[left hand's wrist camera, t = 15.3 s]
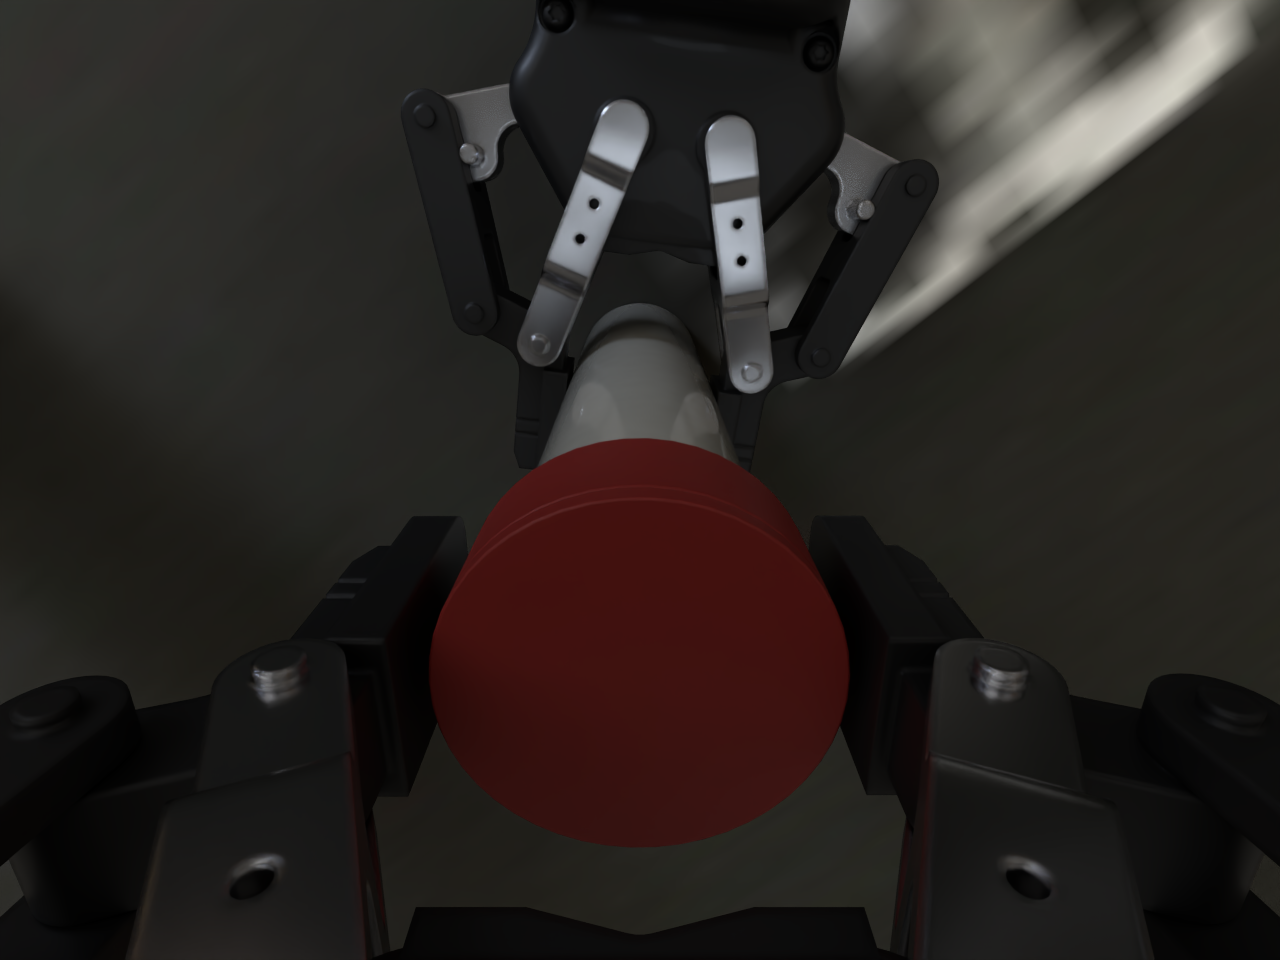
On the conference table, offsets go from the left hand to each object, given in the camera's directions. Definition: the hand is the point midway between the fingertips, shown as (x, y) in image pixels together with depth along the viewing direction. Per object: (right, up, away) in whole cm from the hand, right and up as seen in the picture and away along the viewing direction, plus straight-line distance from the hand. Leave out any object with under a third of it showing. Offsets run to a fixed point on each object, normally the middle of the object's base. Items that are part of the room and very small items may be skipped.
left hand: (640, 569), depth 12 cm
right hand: (0, +1, +11) cm, 11 cm away
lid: (0, -1, -3) cm, 3 cm away
